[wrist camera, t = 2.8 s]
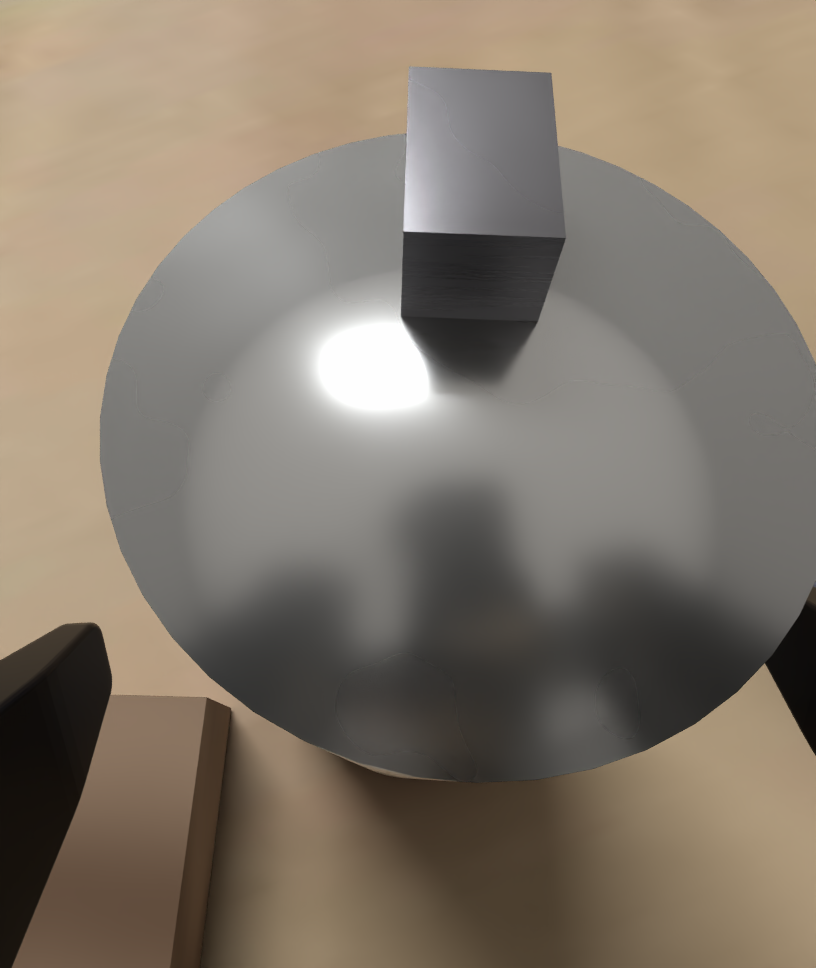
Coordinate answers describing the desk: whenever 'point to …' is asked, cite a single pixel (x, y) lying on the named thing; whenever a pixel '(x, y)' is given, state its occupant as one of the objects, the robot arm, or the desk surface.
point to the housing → (465, 448)
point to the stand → (137, 842)
